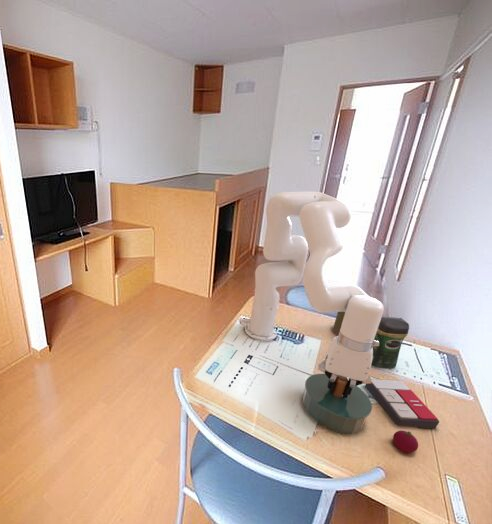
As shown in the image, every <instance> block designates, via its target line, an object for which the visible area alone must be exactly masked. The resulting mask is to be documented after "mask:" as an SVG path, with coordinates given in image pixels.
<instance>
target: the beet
mask: <svg viewBox="0 0 492 524" xmlns="http://www.w3.org/2000/svg"><path fill="white" fill-rule="evenodd" d="M392 440H393V444H394V446H395V447H396V448H397V450H398V451H399V452H401V453H403V454H406V455H407V454H408V455H410V454H412V453H415V452H416V451H417V450H418V448H419V441H418V439H417V438H416V436H414V434H413V433H412V432H411V431H406V430H397V431H395V433H394V434H393V435H392Z"/></svg>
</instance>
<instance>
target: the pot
mask: <svg viewBox="0 0 492 524" xmlns="http://www.w3.org/2000/svg"><path fill="white" fill-rule="evenodd" d="M302 405H303V407H304V410H305V412H306V413H307V415H309V416H310V417H311V418H312V419H313V420H314V421H315V422H316V423H317V424H319V425H321V426H322V427H324V428H326V429H328V430H330V431H333V432H336V433H339V434H347V435H349V434H350V435H352V434H355V433H358V432H360V431H362V428H363V427H364V425H365V423H366V419H367V417H366V418H363V419H347V418H342V417H339V416H336V415H334V414H332V413H330V412H328V411H326V410H324V409H323V408H321V407H320V406H319V405H317V404H316V403H315V402H314V401H313V400H312V399H311V398H310V396H309V395H308V393H307V391H306V388H305V387H304V392H303V396H302Z"/></svg>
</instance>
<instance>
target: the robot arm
mask: <svg viewBox="0 0 492 524" xmlns="http://www.w3.org/2000/svg"><path fill="white" fill-rule="evenodd" d="M265 213H266V230H265V235H264V243H263V248H262V250H263V251H262V255H263V257H264V259H266V260H268V261H271V262H265V263H262V264H259V265H258V266H257V267H256V269H255V272H254V280H255V282H254V283H255V285H254V295H253V300H252V308H251V312H250V317H249V318H247V319H246V318H243V317H239V318H238V322H239V323H240V325H241V326H243V327H244V332H245V333H246V335H247V336H249V337H250V338H252V339H254V340H259V341H265V342H268V341H272V340H275V339H276V338H277V335H278V332H277V331H276V328H275V324H276V320H277V315H278V311H279V310H278V309H279V304H280V297H281V296H280V293H279V291H277V288H279V287H280V288H281V287H290V286H297V285H298V284H300V283H301V281H302V284H303V288H304V292H305V293H306V294H305V295H306V297H307V300H308V303H309V305H310V306H311V308H312V309H313V310H314V311H316V312H318V313H321V314H330V313H338V312H345V315H344V318H343V322H342V325H341V328H340V332H339V335H336V336H334V337H333V339H332V340H331V342H330V344H329V346H328V348H327V351H326V353H325V356H324V359H323V360H322V361H321V362H320V363H318V365H317V370H320V371H321V372H322V373H323V374H326V376H327V377H328V378H329V382H328V388H329V389H330V393H331V394H333V392H334V389H335V386H336V377H337V375H340V376H344V377H347V378H348V382H347V385H346V388H345V391H344V394H343V396H344V398H347V396H348V394H349V395H350V394H351V391H352V388H355V386H357V387H359V386H361V385H363V384H364V385H366V384H370V383H372V381H371V379H372V378H371V376H370V372H371V368H372V365H371V364H372V357H373V348H372V347H373V346H379V342H378V341H376V340H374V338H375V335H376V332H377V329H378V326H379V323H380V321H381V318H382V317H383V315H384V312H385V306H384V304H383V303H382V302H381V301H380V300H378V299H376V298H374V297H371V296H369V294H367V293H366V292H365V291H364V290H363V289H362V288H360V287H359V285H358V286H357V285H355V284H352V283H343V284H330V285H327V284H325V280H324V277H323V267H324V264H325V263H326V261H327V260H328V259H329V258H331V257H334V256H335V255H338V254H339V253H340V252H341V251H342V250H343V243H342V240H341V238H340V234H339V231H338V229H341V228H344V227H346V226H347V225H348V224H349V223H350V221H351V217H352V214H351V213H352V212H351V210H350V207H349V206H348V204H346V203H345V202H344V201H343V200H340V199H338V198H336V197H333V196H331V195H330V194H329V195H328V194H326V193H324V192H321V191H315V190H314V191H313V190H312V191H311V190H309V191H308V190H307V191H282V192H278V193H275V194H273V195H272V196H271V197H270V198H269V199H268V201H267V205H266V210H265ZM297 217H298V218H299V222H300V224H301V228H302V232H303V234H304V236H302V235H299V234H292V229H293V223H292V221H291V219H290V218H297ZM308 254H309V257H308Z"/></svg>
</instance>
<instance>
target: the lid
mask: <svg viewBox="0 0 492 524" xmlns="http://www.w3.org/2000/svg"><path fill="white" fill-rule="evenodd" d="M348 380H349V378H348V377H344V376H340V375H337V377H336V386H335V389H334V392H333V394H331V393H330V389H329V388H328V382H329V378H328V377H327V376H326V374H325V373H315V374H311V375H310V376H308V377H307V378H306V379H305V383H304V389H305V388H306V391H307V393H308V395H309V396H310V398H311V399H312V400H313V401H314V402H315V403H316V404H317V405H319V406H320V407H321V408H323V409H324V410H326V411H328V412H330V413H332V414H334V415H336V416H339V417H342V418H347V419H363V418H366V419H367V418H368V417H369V416H370V415H371V413H372V410H373V404H372V402H371V400H370V397H368V395H367V394H366V393H365V392H364V391H363V390H362V389H361V388H360V387H359V386H355V388H352V391H351V394H350V395H349V394H348V396H347V398H344V396H343V394H344V391H345V388H346V385H347V382H348Z"/></svg>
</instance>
